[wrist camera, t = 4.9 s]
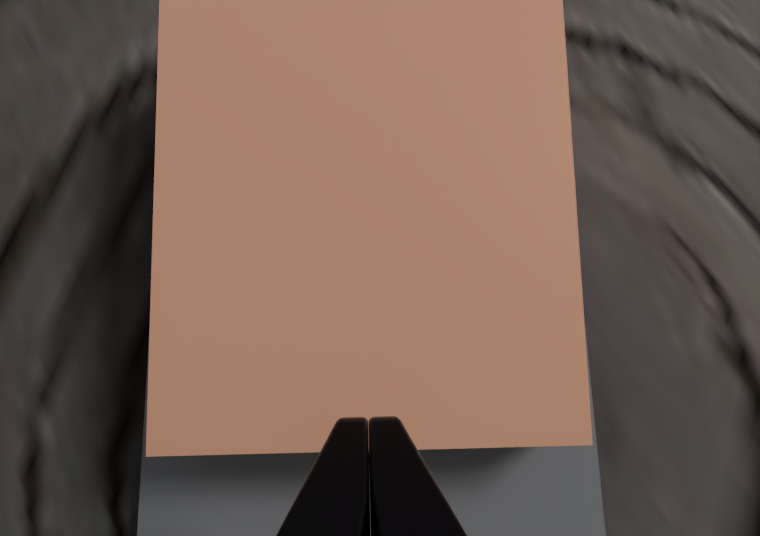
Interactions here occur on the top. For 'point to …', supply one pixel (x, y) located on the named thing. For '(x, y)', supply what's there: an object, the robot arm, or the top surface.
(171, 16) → the terracotta tile
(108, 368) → the top surface
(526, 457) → the rubber mat
